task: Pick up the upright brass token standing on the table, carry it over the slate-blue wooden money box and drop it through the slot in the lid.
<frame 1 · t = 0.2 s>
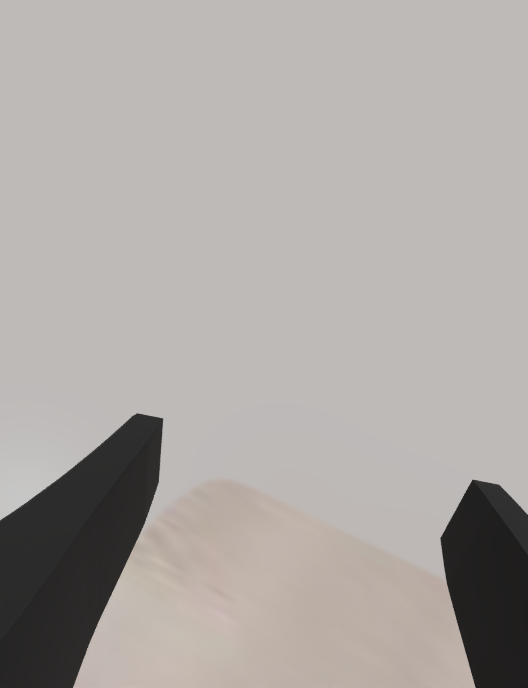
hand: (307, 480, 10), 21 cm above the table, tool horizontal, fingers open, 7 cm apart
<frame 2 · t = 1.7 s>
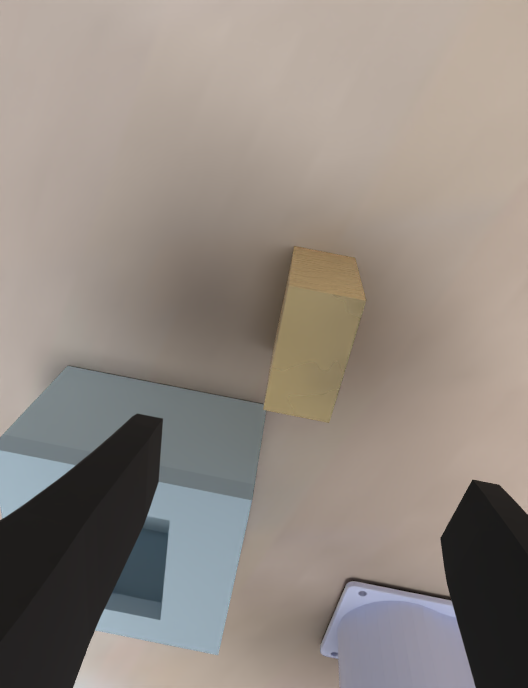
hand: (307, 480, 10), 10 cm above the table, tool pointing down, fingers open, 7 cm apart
token: (311, 307, 19), on the table
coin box: (161, 466, 25), on the table
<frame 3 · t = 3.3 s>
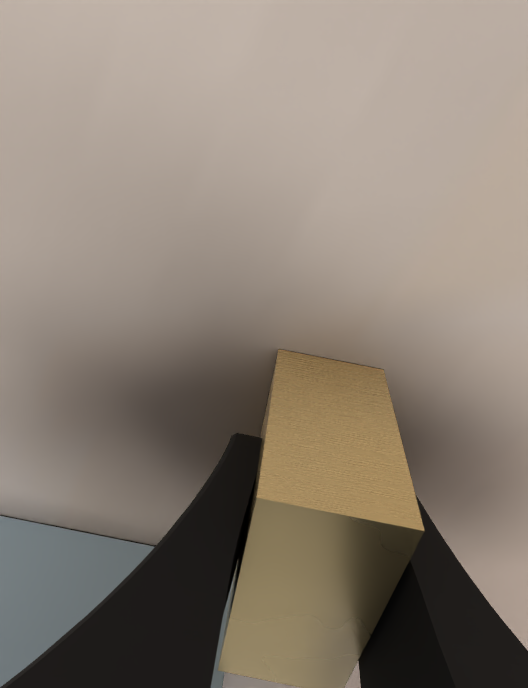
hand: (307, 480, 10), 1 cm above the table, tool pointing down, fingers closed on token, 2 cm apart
token: (308, 440, 12), on the table, touching gripper
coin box: (92, 628, 17), on the table
when the fingers open (7 cm above the table, at t = 5.4 s): token drops 4 cm, resting on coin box.
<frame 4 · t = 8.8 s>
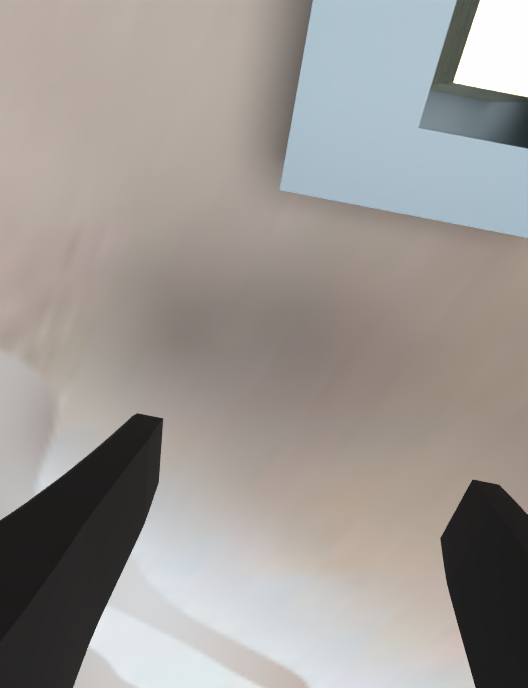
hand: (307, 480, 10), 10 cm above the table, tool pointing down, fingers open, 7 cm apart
token: (484, 2, 14), resting on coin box
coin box: (478, 9, 14), on the table
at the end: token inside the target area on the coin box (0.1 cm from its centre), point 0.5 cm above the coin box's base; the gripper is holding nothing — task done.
